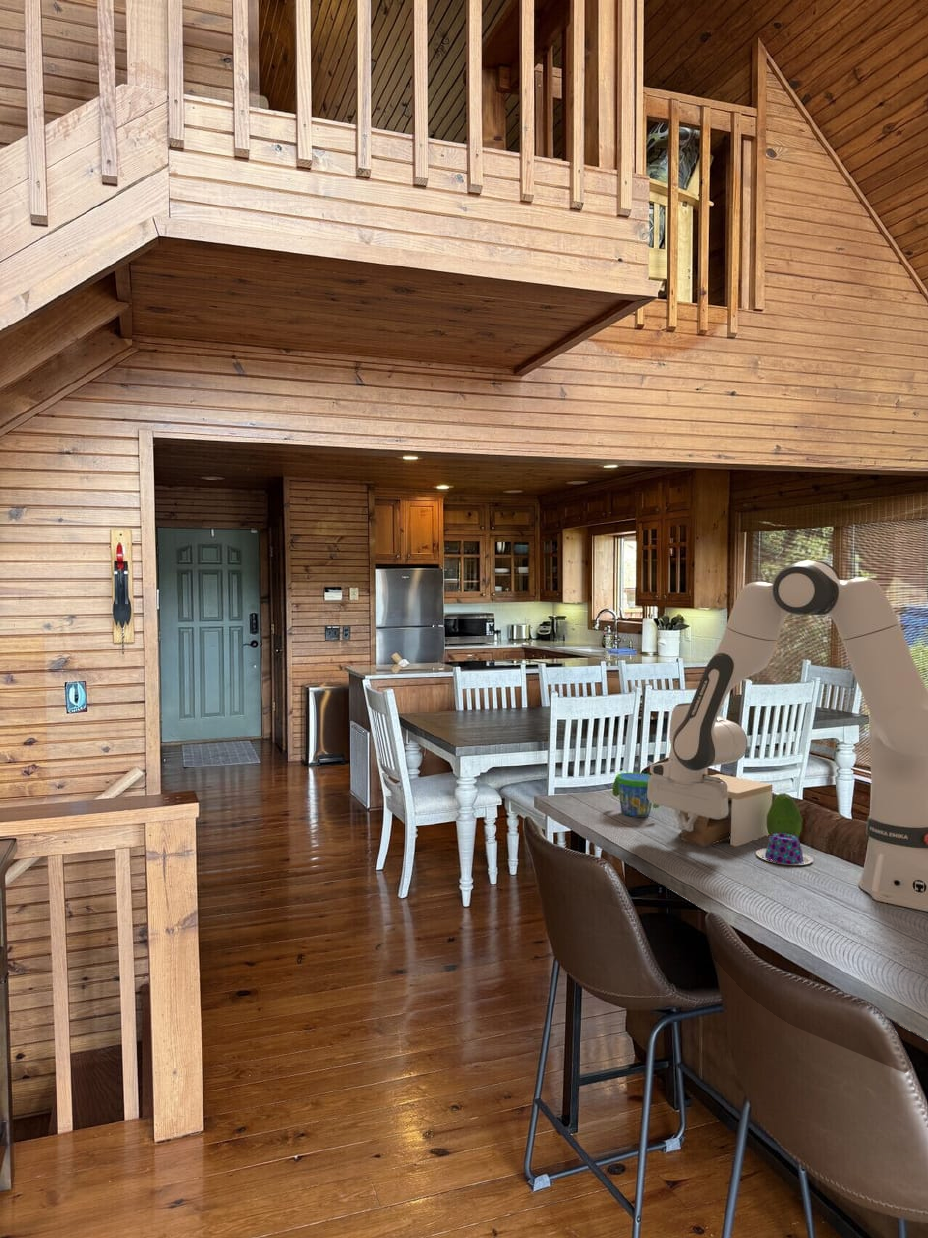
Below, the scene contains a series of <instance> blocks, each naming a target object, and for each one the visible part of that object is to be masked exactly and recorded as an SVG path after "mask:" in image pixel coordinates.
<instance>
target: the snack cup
mask: <svg viewBox="0 0 928 1238" xmlns="http://www.w3.org/2000/svg"><path fill="white" fill-rule="evenodd" d="M651 775H652V774H648V773H642V772H622V773H618V774H617V775H616V777H615V778H614V781H613V784H612V792H611V793H612V795H613V796H614V797H618V796H619V804H620V813H621V814H623V815H626V816H630V817H633V818H634V817H636V818H645V817H648V816H649V815H650V814H651V811H652V807H653V809H658V808H659V807H660V806H661V805H657V804H653V803H650V802H649V800H648V798H647V789H648V780H649V777H650V776H651ZM652 804H653V805H652Z"/></svg>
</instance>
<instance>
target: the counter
mask: <svg viewBox="0 0 928 1238" xmlns="http://www.w3.org/2000/svg"><path fill="white" fill-rule="evenodd" d="M710 776H713V777H719V778H722V780H723V781H724V782H725V783H726V784H727V798H728V801H732V808H731V838H730V839H729V841H730V846H732V845H733V847H739V846H741V845H742V846H743V845H745V844H748V843H751V842H753V841H752V840H754V841H756V840H755V839H757V840H759V839H758V838H760V837H763V838H765V837H764V836H766V837H769V836H770V835H769V833H768V830H767V825H766V822H767V814H768V812H769V810H770V807H771V805H772V802H773V784H772V783H767V782H762V781H757V780H751V779H748V778H747V779H746V778H740V777H735V776H732V775H731V776H730V775H726V774H720V773H717V774H712V775H710ZM721 783H723V782H721ZM680 831H682V829H680ZM768 835H769V836H768ZM760 839H761V838H760ZM750 841H751V842H750ZM747 842H748V843H747Z"/></svg>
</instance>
